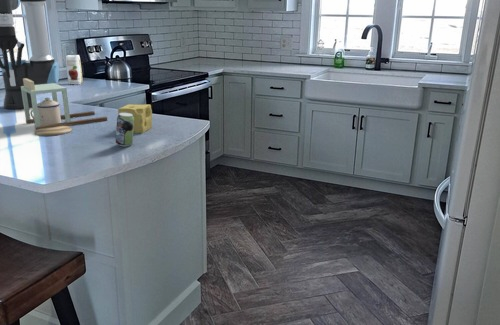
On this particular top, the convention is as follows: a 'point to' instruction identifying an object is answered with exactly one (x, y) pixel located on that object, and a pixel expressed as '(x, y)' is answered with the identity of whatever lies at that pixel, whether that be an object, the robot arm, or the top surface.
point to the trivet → (53, 131)
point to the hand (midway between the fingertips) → (13, 85)
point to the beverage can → (124, 129)
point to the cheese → (139, 116)
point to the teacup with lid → (48, 112)
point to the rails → (72, 121)
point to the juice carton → (74, 69)
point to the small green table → (40, 89)
